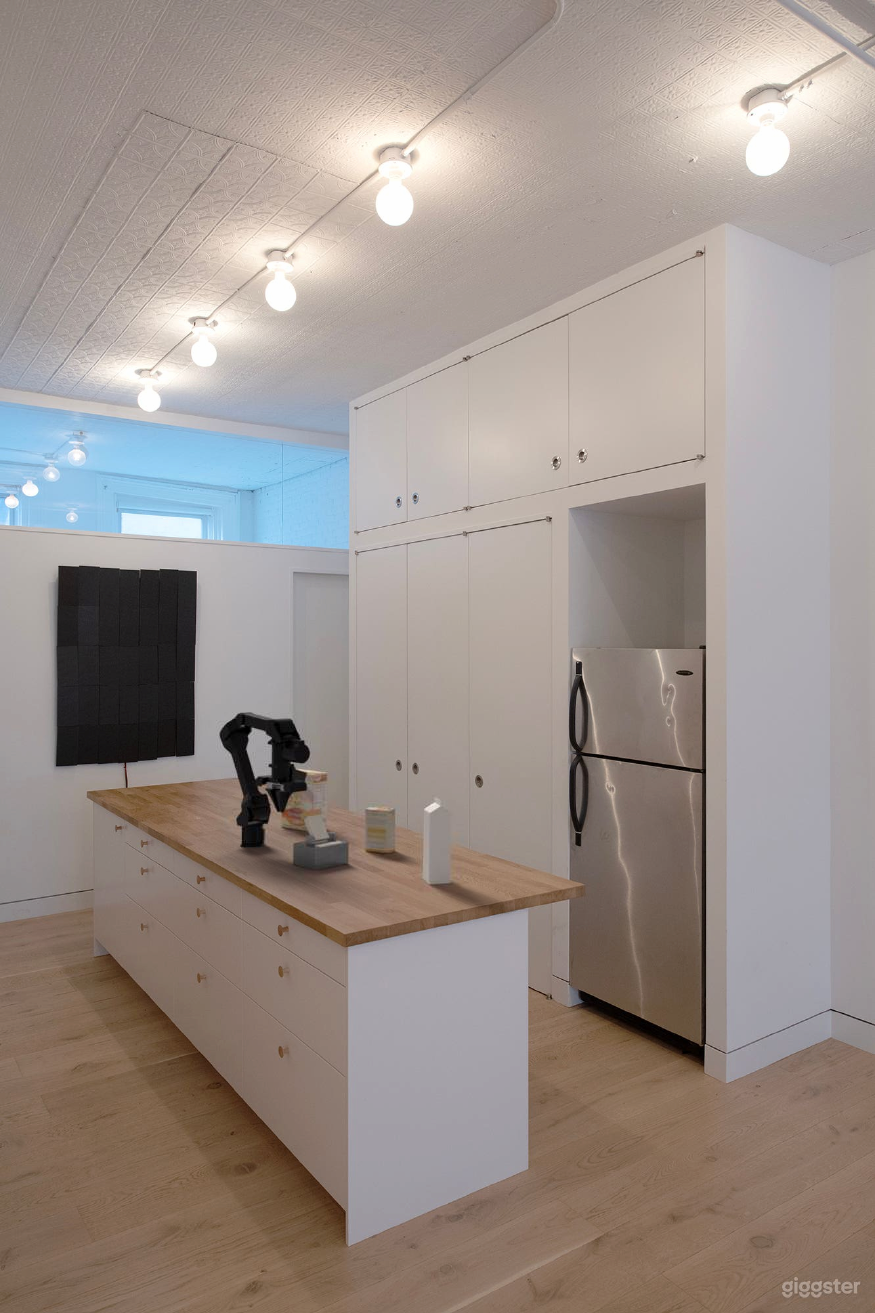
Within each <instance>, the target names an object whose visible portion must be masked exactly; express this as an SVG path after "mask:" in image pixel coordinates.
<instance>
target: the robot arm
mask: <svg viewBox="0 0 875 1313" xmlns="http://www.w3.org/2000/svg"><path fill="white" fill-rule="evenodd" d="M253 729H255V730H259V731H263V732H265V735H266V736H268V737H270V739H269V740H268V741H267V745H271V763H268V768H270V769H271V770H270V771H271V774H267V775H259V776H257V777H255V774H254V770H253V767H252V764H251V760H250V757H249V754H248V750H247V748H248V744H249V741H250V739H249V736H250V735H251V733H252V731H253ZM300 736H301V735H300V733H299V732H298V729H297V726H296V724H295V723H294V721H293V719H292V718H285V717H284V718H272V717H267V716H263V715H260V714H256V713H254V712H252V711H249V712H248V711H246V712H239V713H237V714H236V715H235V717H233V718H232V719H230V720H229V721H228V722H226V723H225V724H224V725H223V727H222V728H221V729H220V731H219V738H220V742H221V744H222V746H223V748H224V749H225V750H226V751H227V752H228V753H229V754H230V755H231V759H232V761H233V762H232V763H233V765H234V768H235V772H236V775H237V779H238V782H239V785H240V789H241V792H242V801H241V803H240V804H241V805H240V808H241V811H240V813H239V814H238V815H237V817H236V819H235V822H236V825H237V827H241V843H240V847H262V846H263V845H264V843H265V842H266V828H264V825H268V824H269V822H270V817H271V813H272V809H271V805H272V804H271V803H270V801H269V798H270V800H271V802H272V803H273V806H274V808H275V810H276V812H277V813H281V814H282V813H284V811H285V808H286V805H287V802H288V800H289V797H290V795H291V794H292V793H293V792H300V791H307V783H306V782H305V779H306V776H307V773H306V772H303V771H300V770H297V769H298V768H296V766H295V763H296V764H302V765H303V764H306V763H307V762H308V760H309V759H310V756H311V750H310V748H309V747H308V745H306V744H305V742H306V741H305V740H304V739H301V737H300ZM264 785H267V786H266V788H264V790H265V791H266V792H267V793H262V792H261V791H260V790H259V787H263V786H264ZM268 795H269V796H268Z"/></svg>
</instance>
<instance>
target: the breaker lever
mask: <svg viewBox="0 0 875 1313" xmlns="http://www.w3.org/2000/svg"><path fill="white" fill-rule="evenodd" d="M321 814H322V811H321V809H317V810H311V811H304V812H303V813H302V814H301V815H300V817H301V820H303V819H304V821H305V824H306V826H307V829H308V831H307V832H308V834H309V836H313V837H315V842H319V841H324V840H327V839H328V838H329V835H328V832H329V831H327V826H326V827H325V825H324V822H323V820H322V817H321Z"/></svg>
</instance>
